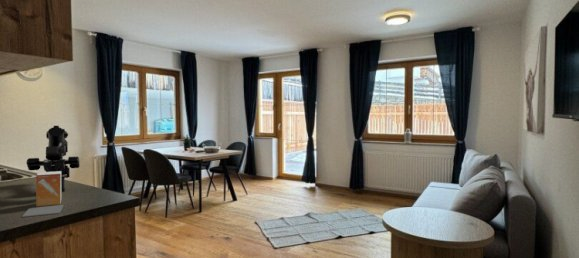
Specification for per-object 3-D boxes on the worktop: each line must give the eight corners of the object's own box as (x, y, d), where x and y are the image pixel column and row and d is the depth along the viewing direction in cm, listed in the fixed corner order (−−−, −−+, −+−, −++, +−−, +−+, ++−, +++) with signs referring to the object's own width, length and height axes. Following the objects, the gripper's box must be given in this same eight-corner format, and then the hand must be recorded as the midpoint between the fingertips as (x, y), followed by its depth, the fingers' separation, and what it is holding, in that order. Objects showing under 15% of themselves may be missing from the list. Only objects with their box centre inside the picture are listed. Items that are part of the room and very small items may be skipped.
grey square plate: (29, 209, 125) (29, 208, 124) (63, 205, 130) (63, 204, 130) (22, 217, 115) (22, 216, 115) (59, 213, 120) (59, 212, 120)
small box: (36, 207, 127) (35, 174, 126) (37, 203, 132) (37, 172, 132) (61, 204, 132) (60, 173, 131) (61, 200, 137) (61, 170, 136)
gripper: (27, 139, 137) (20, 169, 128) (78, 139, 146) (76, 166, 137) (31, 155, 144) (25, 184, 135) (80, 154, 153) (78, 181, 144)
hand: (52, 178), depth 137 cm, fingers closed
